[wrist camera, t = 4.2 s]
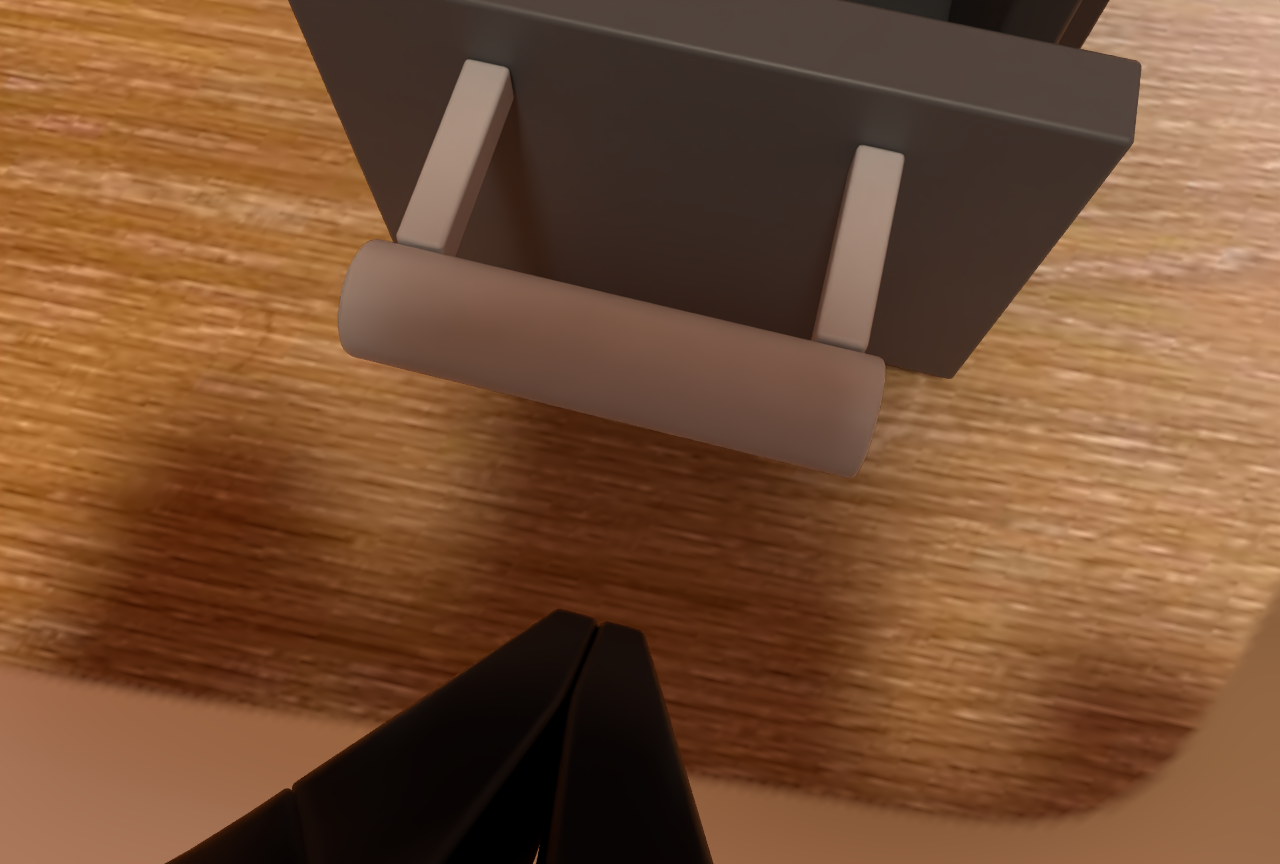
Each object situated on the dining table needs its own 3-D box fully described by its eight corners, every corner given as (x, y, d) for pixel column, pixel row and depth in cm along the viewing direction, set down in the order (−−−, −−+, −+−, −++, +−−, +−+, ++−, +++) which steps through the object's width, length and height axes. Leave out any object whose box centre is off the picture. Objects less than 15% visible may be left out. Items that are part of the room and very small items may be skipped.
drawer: (914, 611, 16) (1101, 490, 10) (313, 457, 17) (118, 252, 10) (1030, -99, 21) (1201, -480, 15) (567, -189, 22) (540, -588, 15)
